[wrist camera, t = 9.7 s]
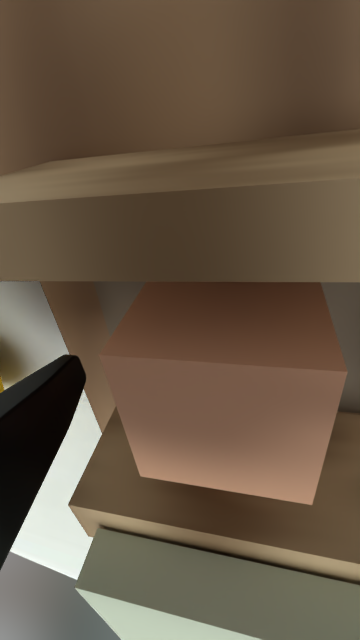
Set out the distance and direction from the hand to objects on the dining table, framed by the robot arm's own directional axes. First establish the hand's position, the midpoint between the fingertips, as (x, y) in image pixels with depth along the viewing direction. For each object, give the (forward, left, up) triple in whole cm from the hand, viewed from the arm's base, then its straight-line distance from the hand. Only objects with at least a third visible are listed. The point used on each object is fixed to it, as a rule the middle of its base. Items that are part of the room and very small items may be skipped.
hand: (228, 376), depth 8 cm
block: (0, 0, -3) cm, 3 cm away
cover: (0, +10, +2) cm, 11 cm away
